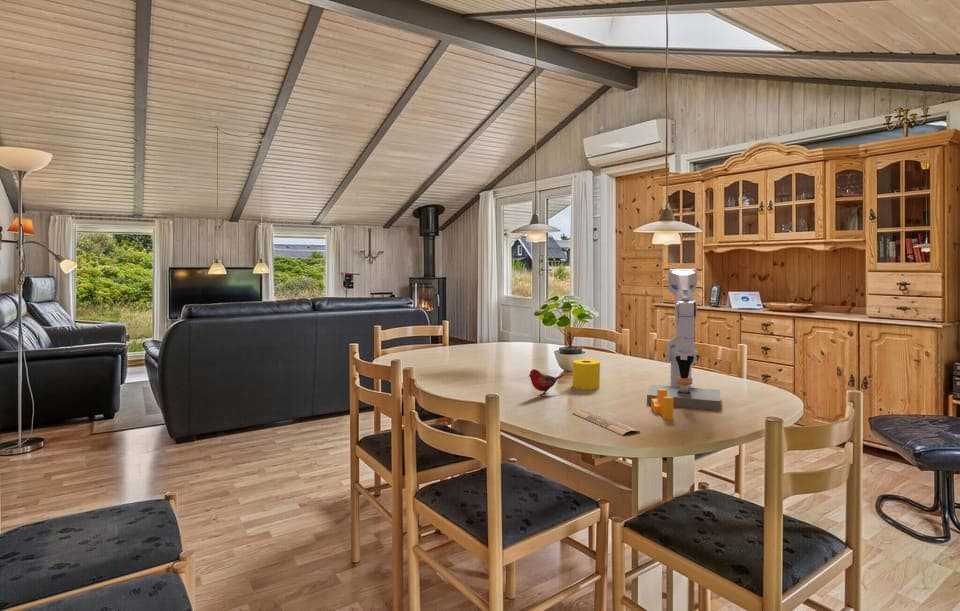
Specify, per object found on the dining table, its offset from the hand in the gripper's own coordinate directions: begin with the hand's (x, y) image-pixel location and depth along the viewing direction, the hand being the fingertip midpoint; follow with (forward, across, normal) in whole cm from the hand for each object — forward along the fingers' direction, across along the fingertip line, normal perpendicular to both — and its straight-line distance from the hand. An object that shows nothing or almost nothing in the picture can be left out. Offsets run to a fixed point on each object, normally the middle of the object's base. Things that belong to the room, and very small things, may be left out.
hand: (684, 377), depth 178 cm
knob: (+5, 0, 0) cm, 5 cm away
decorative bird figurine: (+8, -8, +45) cm, 46 cm away
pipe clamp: (+8, -18, +6) cm, 20 cm away
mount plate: (+8, 0, 0) cm, 8 cm away
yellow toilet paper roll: (+8, +10, +35) cm, 37 cm away
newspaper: (+9, -34, +20) cm, 41 cm away
